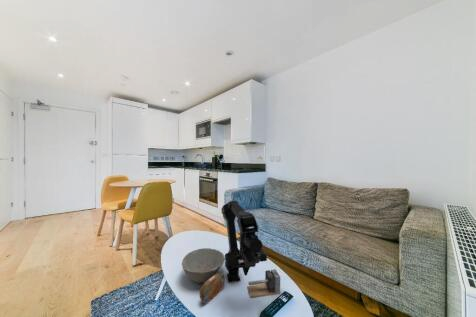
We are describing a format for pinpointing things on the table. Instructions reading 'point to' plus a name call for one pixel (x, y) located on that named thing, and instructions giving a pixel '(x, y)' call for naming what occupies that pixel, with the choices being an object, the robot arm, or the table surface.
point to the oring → (270, 281)
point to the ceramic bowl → (202, 264)
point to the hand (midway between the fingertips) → (245, 275)
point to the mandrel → (264, 286)
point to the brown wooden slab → (212, 287)
